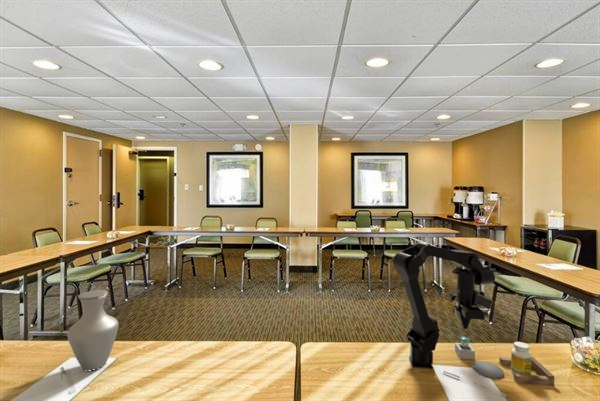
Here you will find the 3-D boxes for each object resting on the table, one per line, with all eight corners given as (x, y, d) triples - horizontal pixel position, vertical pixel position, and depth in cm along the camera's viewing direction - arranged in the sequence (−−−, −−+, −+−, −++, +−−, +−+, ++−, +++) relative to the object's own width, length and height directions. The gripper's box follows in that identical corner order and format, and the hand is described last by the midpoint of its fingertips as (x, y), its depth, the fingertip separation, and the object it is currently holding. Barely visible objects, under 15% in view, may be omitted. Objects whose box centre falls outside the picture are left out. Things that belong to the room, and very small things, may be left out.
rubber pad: (478, 377, 98) (478, 375, 98) (467, 361, 107) (467, 360, 107) (509, 380, 96) (509, 378, 96) (496, 364, 105) (496, 362, 105)
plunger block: (459, 358, 109) (459, 349, 109) (455, 350, 114) (455, 342, 114) (474, 359, 108) (475, 351, 108) (469, 352, 113) (469, 344, 113)
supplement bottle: (515, 366, 104) (515, 339, 103) (534, 374, 99) (534, 345, 99) (507, 372, 101) (508, 343, 100) (526, 380, 96) (527, 350, 96)
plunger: (461, 350, 110) (461, 340, 110) (458, 345, 113) (458, 336, 113) (471, 350, 109) (471, 341, 109) (467, 346, 112) (468, 336, 112)
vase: (128, 355, 111) (127, 287, 110) (98, 380, 96) (96, 302, 96) (91, 353, 112) (90, 286, 111) (56, 377, 98) (54, 300, 97)
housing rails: (516, 382, 95) (516, 373, 95) (499, 362, 106) (499, 354, 106) (554, 386, 93) (554, 376, 93) (533, 365, 104) (533, 357, 104)
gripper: (502, 296, 100) (501, 343, 100) (479, 279, 118) (478, 319, 119) (466, 294, 102) (465, 340, 102) (448, 278, 120) (447, 317, 120)
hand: (464, 328), depth 111 cm, fingers closed
